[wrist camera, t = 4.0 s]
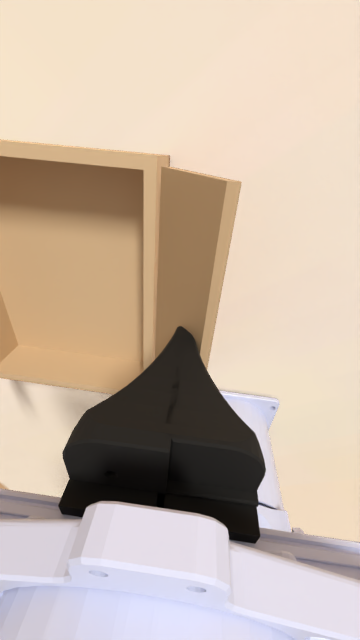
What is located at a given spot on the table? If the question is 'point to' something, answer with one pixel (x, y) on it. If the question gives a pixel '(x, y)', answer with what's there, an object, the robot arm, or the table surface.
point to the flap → (192, 253)
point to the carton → (78, 264)
